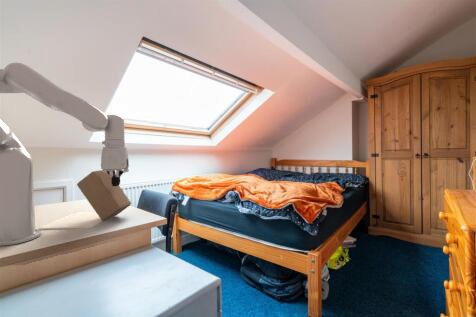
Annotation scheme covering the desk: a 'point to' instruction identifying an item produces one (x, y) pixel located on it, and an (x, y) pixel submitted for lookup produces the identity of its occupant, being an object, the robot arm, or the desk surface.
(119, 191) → the block
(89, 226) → the mat
